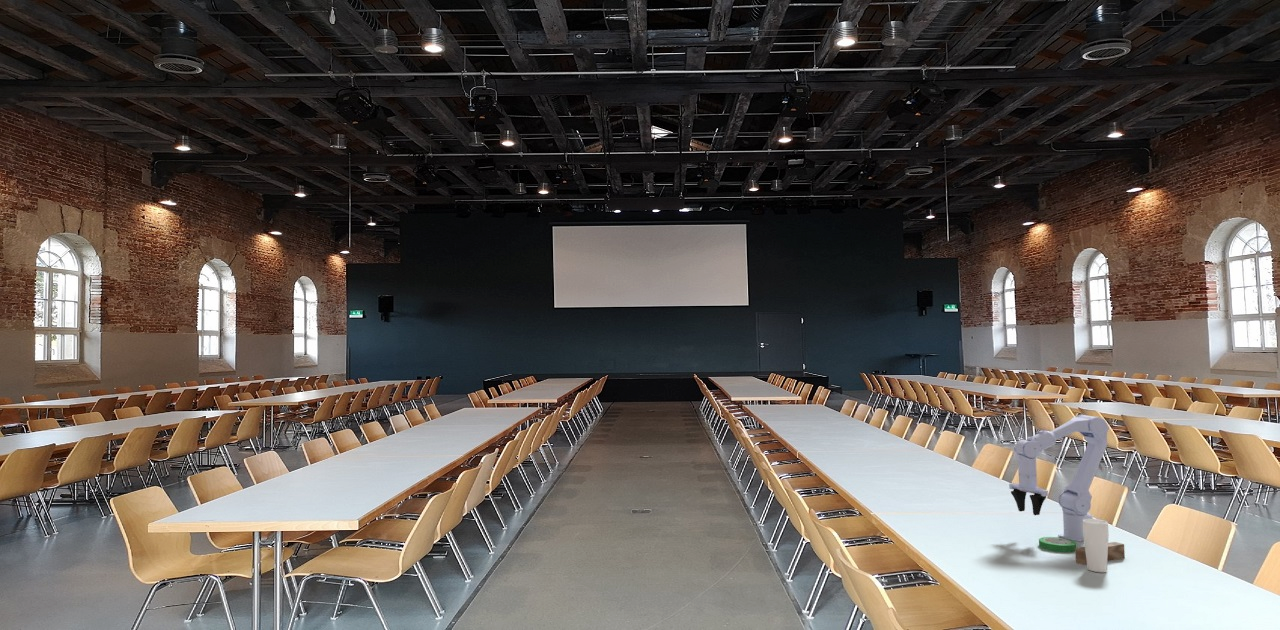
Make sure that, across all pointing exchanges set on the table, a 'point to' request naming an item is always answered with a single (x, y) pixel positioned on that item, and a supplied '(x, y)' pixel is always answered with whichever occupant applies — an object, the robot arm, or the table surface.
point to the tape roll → (1057, 544)
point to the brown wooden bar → (1113, 553)
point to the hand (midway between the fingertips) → (1029, 512)
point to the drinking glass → (1096, 544)
